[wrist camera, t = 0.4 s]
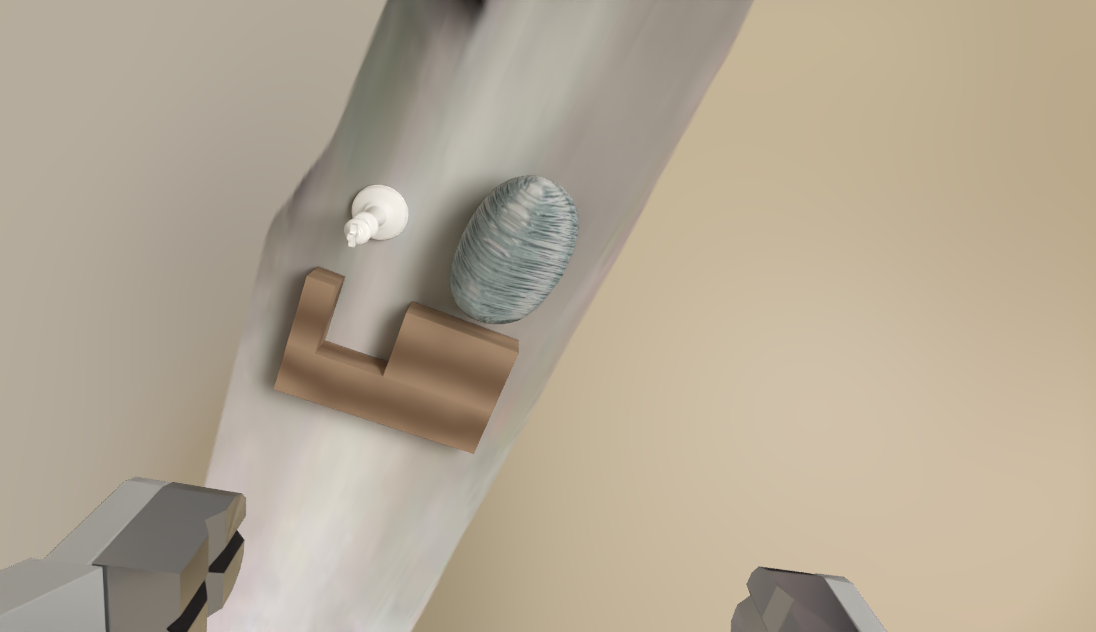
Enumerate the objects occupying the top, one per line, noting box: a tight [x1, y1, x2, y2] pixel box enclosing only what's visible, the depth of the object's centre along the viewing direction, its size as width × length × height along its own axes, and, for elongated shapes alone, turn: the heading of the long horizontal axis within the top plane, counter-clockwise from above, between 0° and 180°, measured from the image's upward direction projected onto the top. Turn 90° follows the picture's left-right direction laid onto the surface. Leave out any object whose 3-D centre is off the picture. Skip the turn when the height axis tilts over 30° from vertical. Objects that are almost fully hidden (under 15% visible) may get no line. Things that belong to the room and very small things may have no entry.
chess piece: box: [344, 185, 408, 247], centre depth 46 cm, size 5×5×10 cm
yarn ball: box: [450, 176, 579, 324], centre depth 49 cm, size 14×10×10 cm
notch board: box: [274, 267, 519, 454], centre depth 55 cm, size 12×20×3 cm, turn 67°
